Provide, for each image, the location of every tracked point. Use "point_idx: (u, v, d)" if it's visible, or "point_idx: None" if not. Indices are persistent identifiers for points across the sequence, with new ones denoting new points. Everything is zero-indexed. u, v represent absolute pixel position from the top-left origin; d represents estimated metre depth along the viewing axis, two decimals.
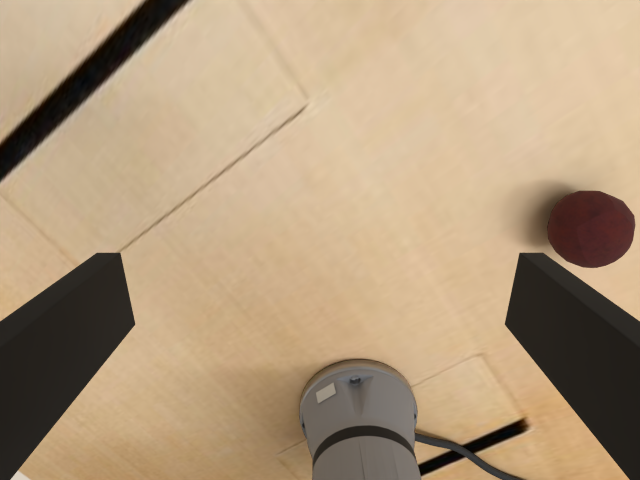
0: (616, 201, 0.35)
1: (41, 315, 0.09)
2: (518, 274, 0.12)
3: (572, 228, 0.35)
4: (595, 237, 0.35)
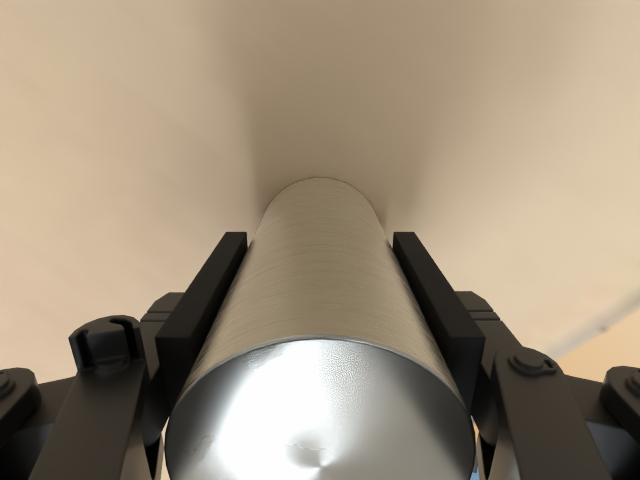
0: None
1: (222, 276, 0.11)
2: (393, 250, 0.14)
3: None
4: None
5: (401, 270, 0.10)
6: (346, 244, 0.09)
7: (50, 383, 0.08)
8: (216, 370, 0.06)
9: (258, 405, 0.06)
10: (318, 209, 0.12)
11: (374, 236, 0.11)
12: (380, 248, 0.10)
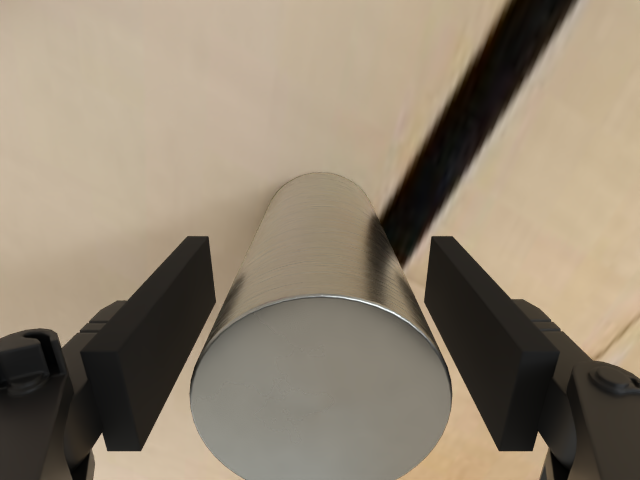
0: None
1: (170, 284, 0.10)
2: (430, 255, 0.14)
3: None
4: None
5: (393, 253, 0.12)
6: (343, 228, 0.10)
7: None
8: (235, 323, 0.07)
9: (269, 354, 0.07)
10: (318, 199, 0.13)
11: (369, 223, 0.12)
12: (374, 233, 0.11)
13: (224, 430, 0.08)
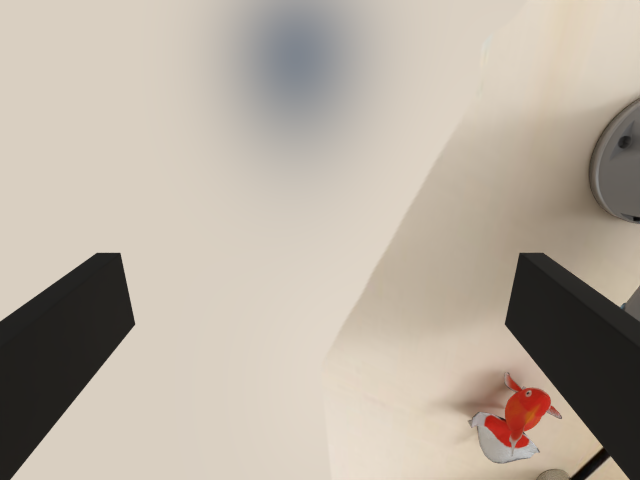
0: None
1: (41, 315, 0.09)
2: (518, 274, 0.12)
3: None
4: None
5: None
6: None
7: None
8: None
9: None
10: None
11: None
12: None
13: None
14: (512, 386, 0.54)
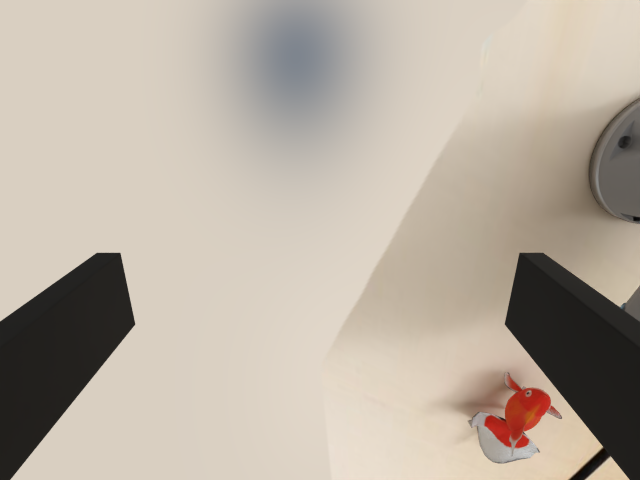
0: None
1: (41, 315, 0.09)
2: (518, 274, 0.12)
3: None
4: None
5: None
6: None
7: None
8: None
9: None
10: None
11: None
12: None
13: None
14: (512, 386, 0.54)
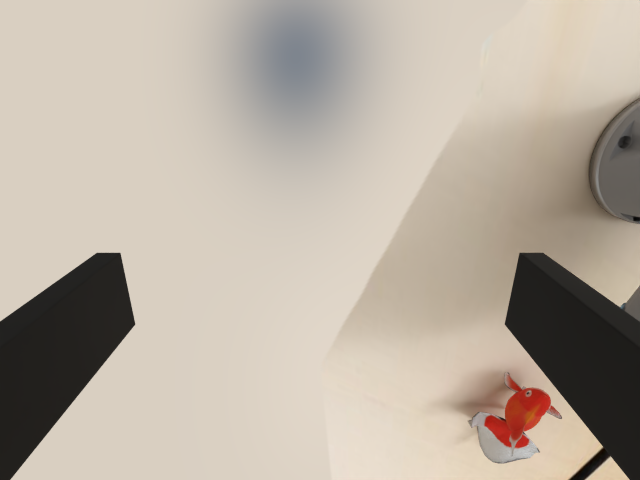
0: None
1: (41, 315, 0.09)
2: (518, 274, 0.12)
3: None
4: None
5: None
6: None
7: None
8: None
9: None
10: None
11: None
12: None
13: None
14: (512, 386, 0.54)
